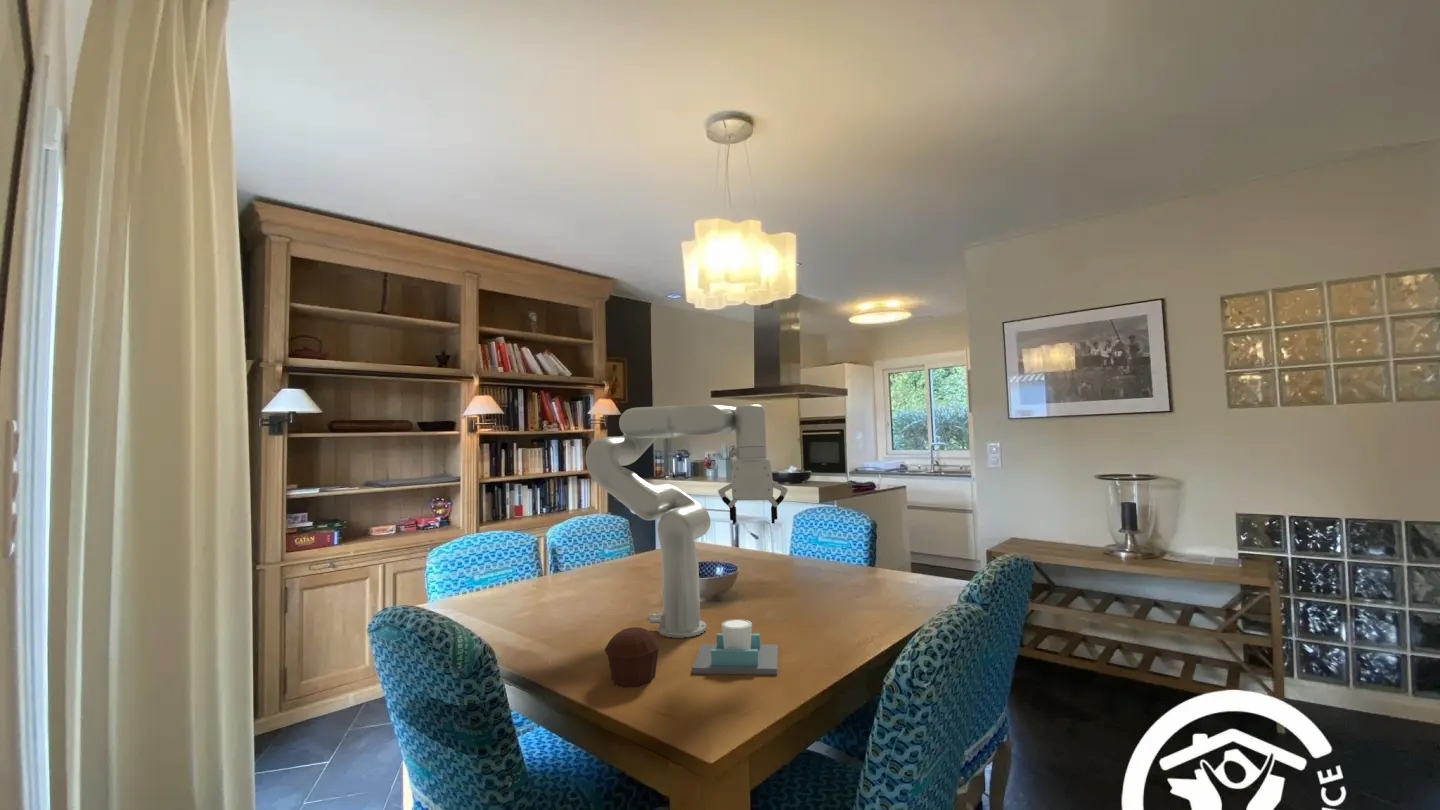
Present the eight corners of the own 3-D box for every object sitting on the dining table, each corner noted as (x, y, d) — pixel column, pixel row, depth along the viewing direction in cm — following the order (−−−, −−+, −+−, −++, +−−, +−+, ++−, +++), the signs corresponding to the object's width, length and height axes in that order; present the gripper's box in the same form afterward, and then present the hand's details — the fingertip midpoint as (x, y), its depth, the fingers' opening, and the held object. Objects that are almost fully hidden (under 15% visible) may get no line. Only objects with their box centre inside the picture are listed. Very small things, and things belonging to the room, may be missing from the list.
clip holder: (692, 673, 123) (691, 653, 123) (701, 649, 137) (701, 631, 137) (777, 674, 121) (776, 654, 121) (778, 649, 135) (777, 631, 135)
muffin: (630, 664, 129) (629, 618, 130) (671, 673, 123) (669, 625, 124) (593, 684, 119) (592, 635, 119) (636, 695, 113) (634, 643, 114)
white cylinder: (753, 660, 125) (752, 627, 126) (722, 661, 125) (721, 628, 126) (752, 649, 132) (751, 618, 133) (722, 650, 132) (721, 619, 133)
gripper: (715, 455, 142) (717, 526, 141) (786, 453, 140) (788, 524, 139) (718, 454, 149) (721, 521, 148) (786, 452, 147) (788, 520, 146)
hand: (753, 523), depth 144 cm, fingers open, 9 cm apart
